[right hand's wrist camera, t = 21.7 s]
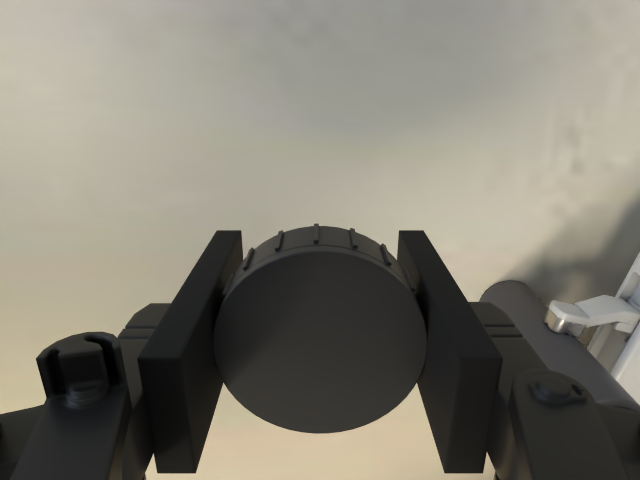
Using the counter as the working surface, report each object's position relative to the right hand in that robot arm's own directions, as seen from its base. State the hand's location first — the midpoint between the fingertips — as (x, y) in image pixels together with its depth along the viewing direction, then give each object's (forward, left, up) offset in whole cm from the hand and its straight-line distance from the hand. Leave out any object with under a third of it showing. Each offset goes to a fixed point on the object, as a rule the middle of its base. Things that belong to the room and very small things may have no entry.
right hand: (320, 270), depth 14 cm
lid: (0, 0, +4) cm, 4 cm away
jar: (+3, -19, -18) cm, 26 cm away
